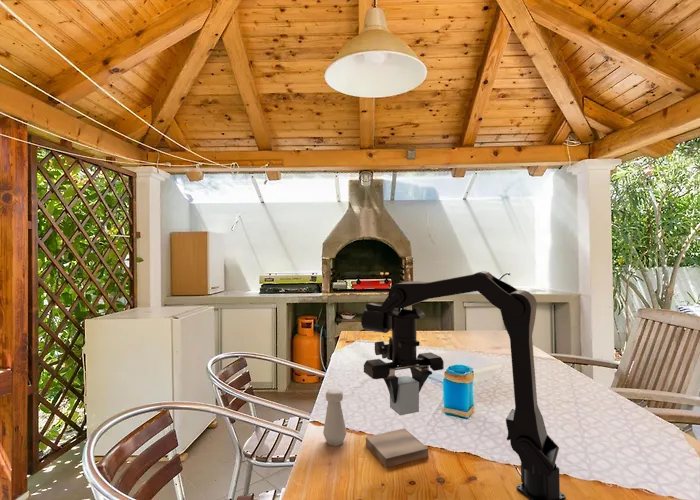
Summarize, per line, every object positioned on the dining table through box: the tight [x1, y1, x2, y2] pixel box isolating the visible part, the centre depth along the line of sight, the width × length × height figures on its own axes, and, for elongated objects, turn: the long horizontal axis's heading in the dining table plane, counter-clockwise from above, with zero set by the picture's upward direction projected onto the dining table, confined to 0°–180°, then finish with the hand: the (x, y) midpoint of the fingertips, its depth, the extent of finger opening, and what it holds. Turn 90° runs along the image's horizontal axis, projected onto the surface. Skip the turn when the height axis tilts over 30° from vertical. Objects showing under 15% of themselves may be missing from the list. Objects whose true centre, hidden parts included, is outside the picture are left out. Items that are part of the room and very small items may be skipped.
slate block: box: [389, 375, 420, 416], centre depth 95 cm, size 5×5×7 cm
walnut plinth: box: [365, 428, 429, 468], centre depth 96 cm, size 11×11×2 cm
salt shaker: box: [322, 388, 347, 447], centre depth 101 cm, size 6×6×13 cm
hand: (404, 401), depth 95 cm, fingers closed on slate block, 5 cm apart
